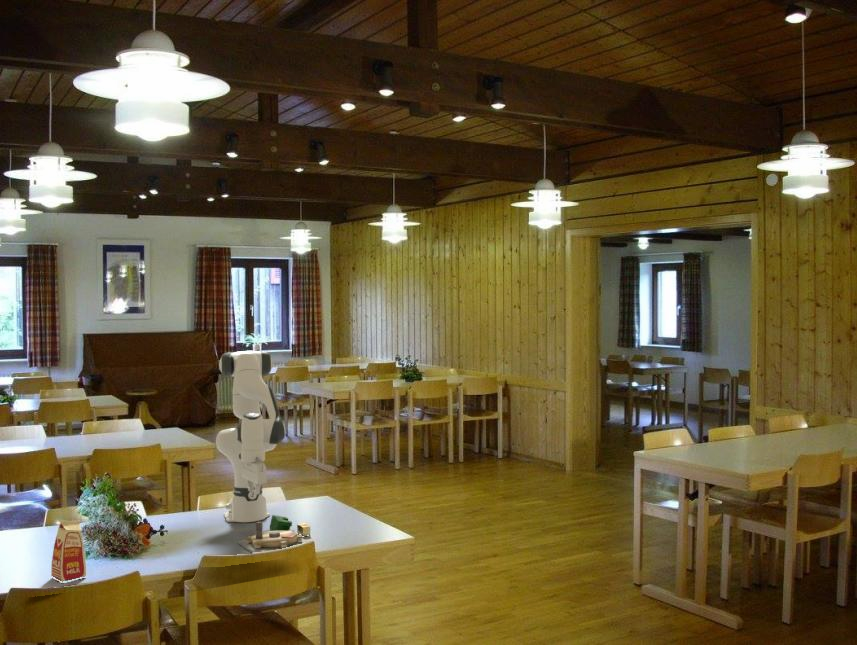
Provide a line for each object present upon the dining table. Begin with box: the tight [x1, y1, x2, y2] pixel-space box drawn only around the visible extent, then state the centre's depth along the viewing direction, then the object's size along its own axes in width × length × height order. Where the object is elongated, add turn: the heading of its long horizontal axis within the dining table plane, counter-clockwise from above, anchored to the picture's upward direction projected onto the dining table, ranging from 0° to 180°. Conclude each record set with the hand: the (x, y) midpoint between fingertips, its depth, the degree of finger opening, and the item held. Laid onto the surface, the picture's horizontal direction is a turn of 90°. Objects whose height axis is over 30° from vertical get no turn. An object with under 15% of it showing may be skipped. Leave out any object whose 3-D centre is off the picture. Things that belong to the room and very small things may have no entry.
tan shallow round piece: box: [246, 521, 303, 548], centre depth 321 cm, size 20×19×8 cm
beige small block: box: [296, 522, 311, 536], centre depth 335 cm, size 6×3×4 cm, turn 30°
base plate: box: [236, 537, 308, 553], centre depth 321 cm, size 22×22×1 cm
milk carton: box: [50, 519, 87, 582], centre depth 284 cm, size 9×9×20 cm
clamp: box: [269, 514, 293, 531], centre depth 341 cm, size 12×6×9 cm, turn 17°
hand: (254, 492), depth 324 cm, fingers open, 5 cm apart
